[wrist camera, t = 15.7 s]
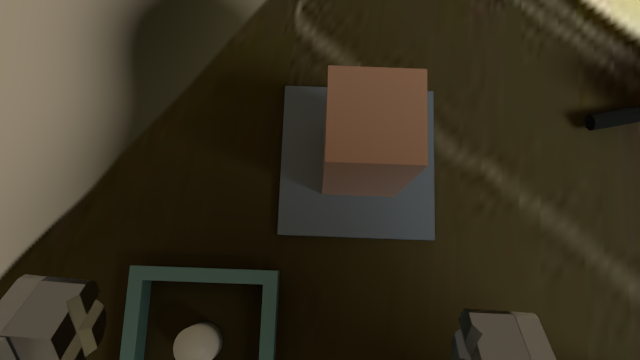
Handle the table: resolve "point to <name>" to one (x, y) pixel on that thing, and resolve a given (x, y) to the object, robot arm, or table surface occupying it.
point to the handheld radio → (612, 118)
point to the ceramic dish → (205, 337)
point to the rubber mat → (343, 210)
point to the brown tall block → (374, 130)
